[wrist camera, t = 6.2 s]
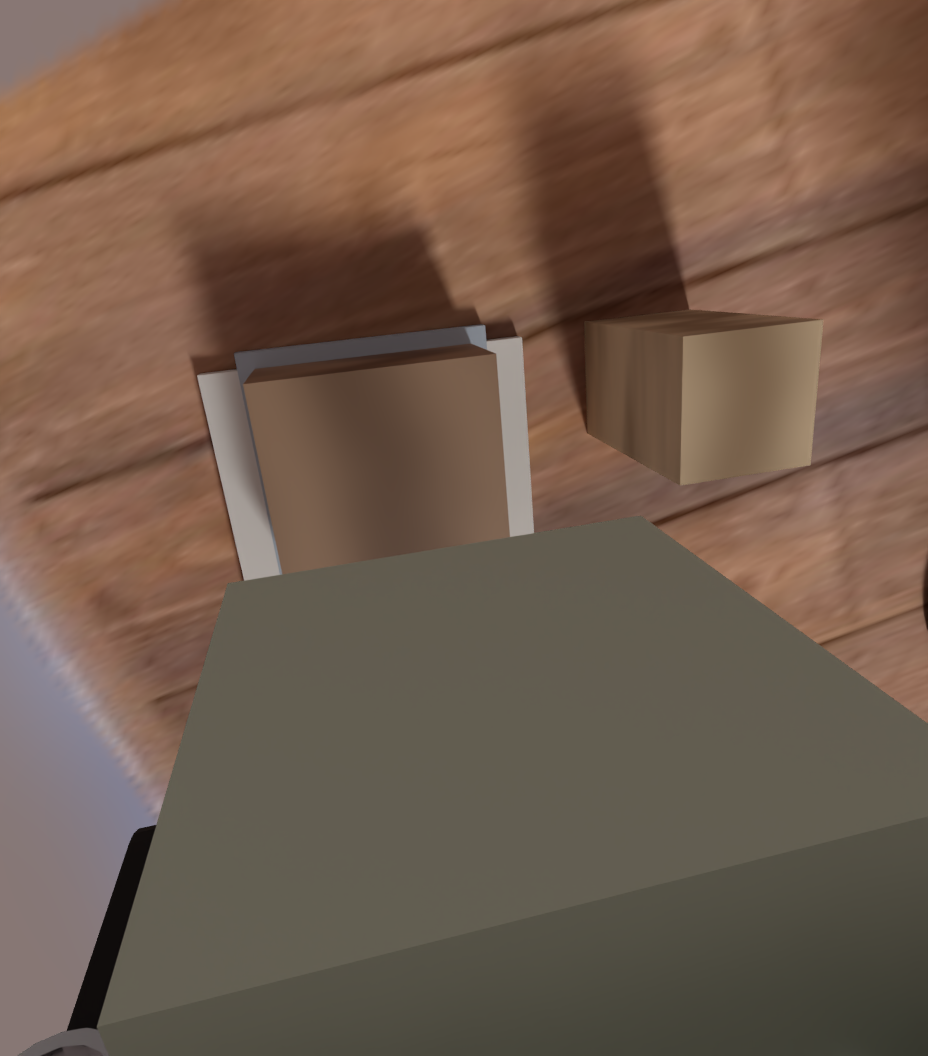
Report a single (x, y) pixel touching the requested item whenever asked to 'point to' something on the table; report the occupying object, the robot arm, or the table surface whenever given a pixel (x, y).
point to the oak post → (704, 391)
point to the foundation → (380, 454)
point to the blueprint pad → (227, 388)
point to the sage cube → (530, 821)
